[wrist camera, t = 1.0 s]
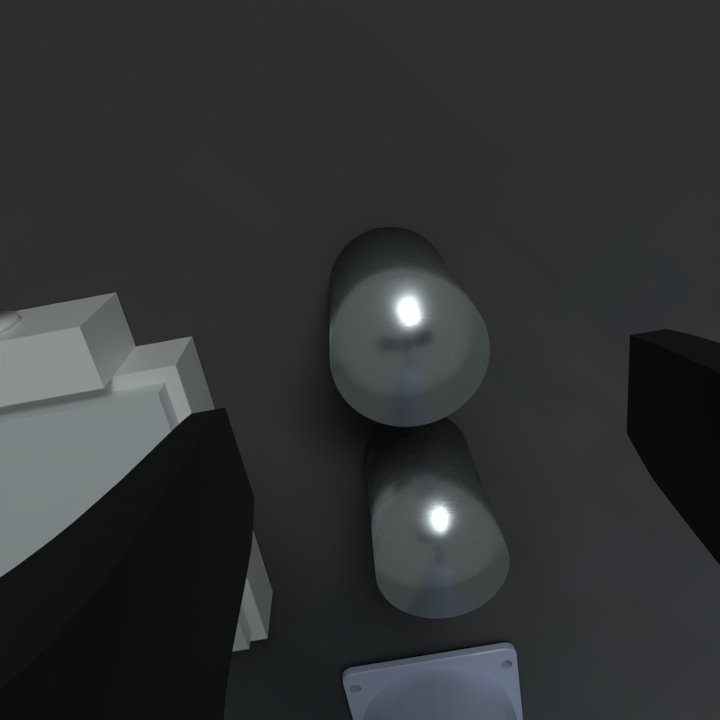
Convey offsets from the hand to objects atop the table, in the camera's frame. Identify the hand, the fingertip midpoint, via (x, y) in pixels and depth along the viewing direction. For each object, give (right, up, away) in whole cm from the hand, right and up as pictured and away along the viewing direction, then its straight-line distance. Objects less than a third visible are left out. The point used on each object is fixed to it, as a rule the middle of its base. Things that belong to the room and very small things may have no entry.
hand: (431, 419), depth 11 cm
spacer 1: (0, +4, +10) cm, 10 cm away
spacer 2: (+1, -3, +13) cm, 13 cm away
